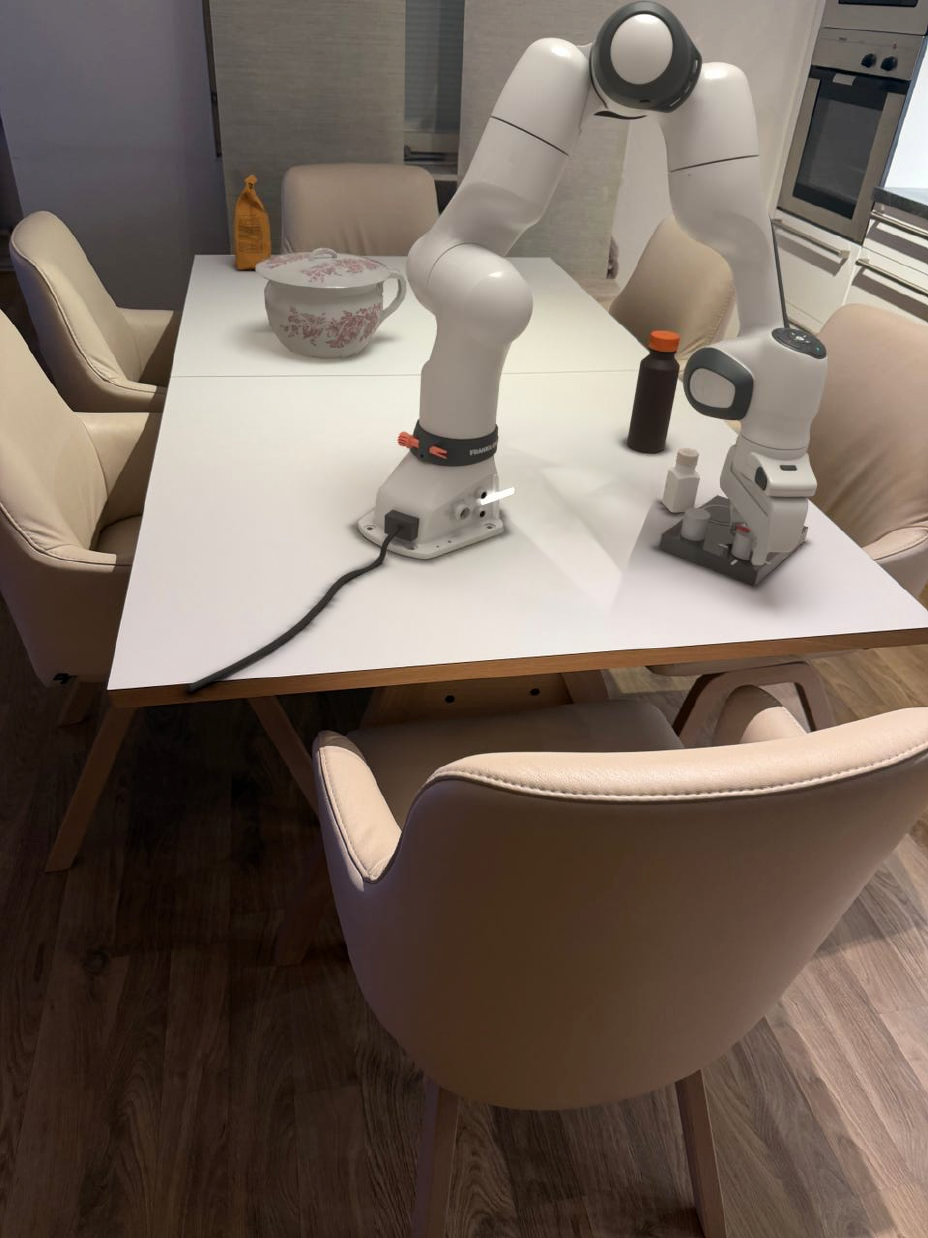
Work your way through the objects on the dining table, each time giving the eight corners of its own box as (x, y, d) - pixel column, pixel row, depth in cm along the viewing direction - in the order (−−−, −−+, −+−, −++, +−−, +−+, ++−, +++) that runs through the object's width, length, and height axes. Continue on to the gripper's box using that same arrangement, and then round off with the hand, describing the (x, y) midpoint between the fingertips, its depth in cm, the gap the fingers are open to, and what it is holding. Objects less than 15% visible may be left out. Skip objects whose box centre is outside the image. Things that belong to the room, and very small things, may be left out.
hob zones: (758, 566, 132) (764, 544, 130) (668, 532, 139) (673, 510, 137) (798, 532, 141) (804, 511, 139) (712, 501, 148) (717, 480, 146)
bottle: (638, 435, 175) (657, 325, 164) (671, 446, 172) (693, 335, 160) (619, 445, 170) (637, 333, 159) (652, 456, 167) (673, 343, 156)
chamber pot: (234, 356, 196) (227, 251, 185) (296, 322, 218) (293, 226, 207) (360, 379, 190) (360, 272, 178) (410, 341, 212) (413, 243, 200)
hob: (753, 590, 131) (758, 573, 130) (655, 550, 139) (658, 534, 137) (806, 542, 144) (811, 527, 142) (714, 508, 151) (717, 493, 150)
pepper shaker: (671, 514, 149) (682, 458, 144) (660, 502, 152) (671, 447, 147) (694, 512, 150) (706, 456, 145) (682, 501, 153) (694, 445, 148)
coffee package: (276, 261, 263) (272, 174, 250) (270, 272, 252) (265, 182, 240) (239, 259, 262) (233, 171, 250) (232, 270, 252) (225, 180, 239)
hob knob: (761, 554, 135) (767, 530, 133) (750, 563, 132) (756, 539, 130) (737, 545, 136) (743, 521, 134) (726, 554, 134) (732, 530, 132)
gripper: (720, 425, 134) (700, 513, 142) (775, 490, 118) (749, 585, 125) (763, 426, 135) (741, 513, 143) (823, 491, 118) (795, 585, 126)
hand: (745, 547), depth 134 cm, fingers open, 7 cm apart
